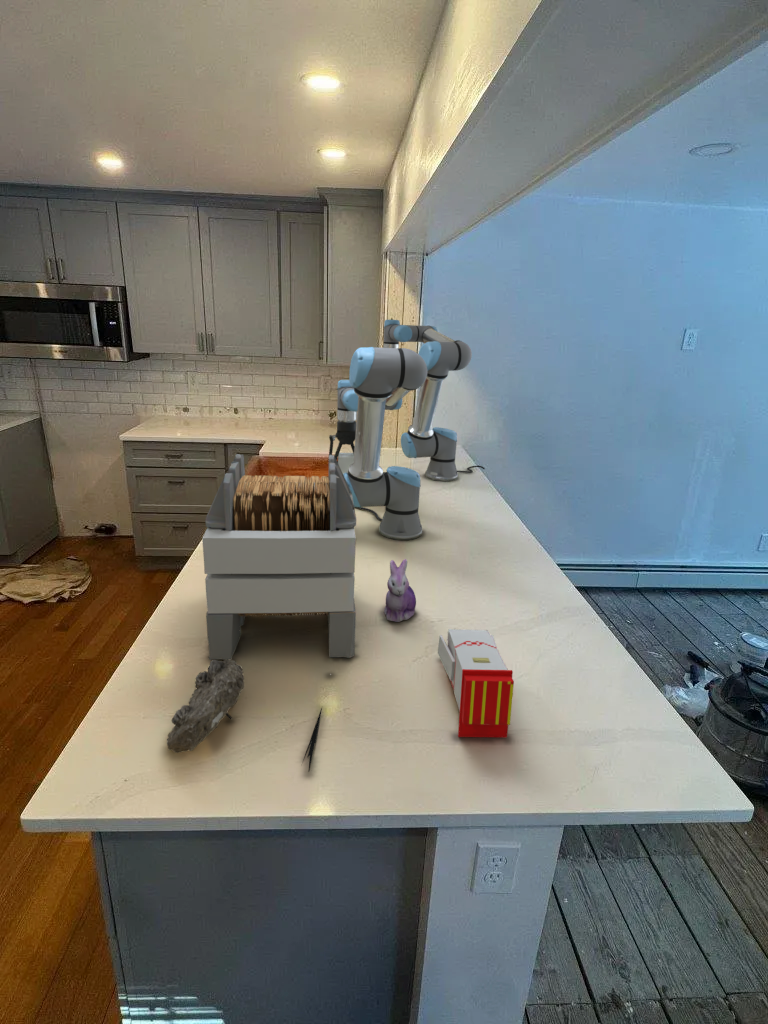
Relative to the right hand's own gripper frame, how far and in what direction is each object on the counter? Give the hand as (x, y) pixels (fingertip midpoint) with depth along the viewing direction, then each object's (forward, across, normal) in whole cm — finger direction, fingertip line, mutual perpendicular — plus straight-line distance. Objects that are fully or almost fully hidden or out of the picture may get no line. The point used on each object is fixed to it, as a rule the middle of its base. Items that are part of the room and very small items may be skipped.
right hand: (388, 396), depth 284 cm
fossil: (+33, +53, +195) cm, 204 cm away
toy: (+33, +1, +189) cm, 192 cm away
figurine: (+33, +12, +157) cm, 161 cm away
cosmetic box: (+29, +23, +66) cm, 76 cm away
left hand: (+23, +23, +66) cm, 74 cm away
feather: (+33, +32, +196) cm, 202 cm away
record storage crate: (+33, +41, +160) cm, 168 cm away
